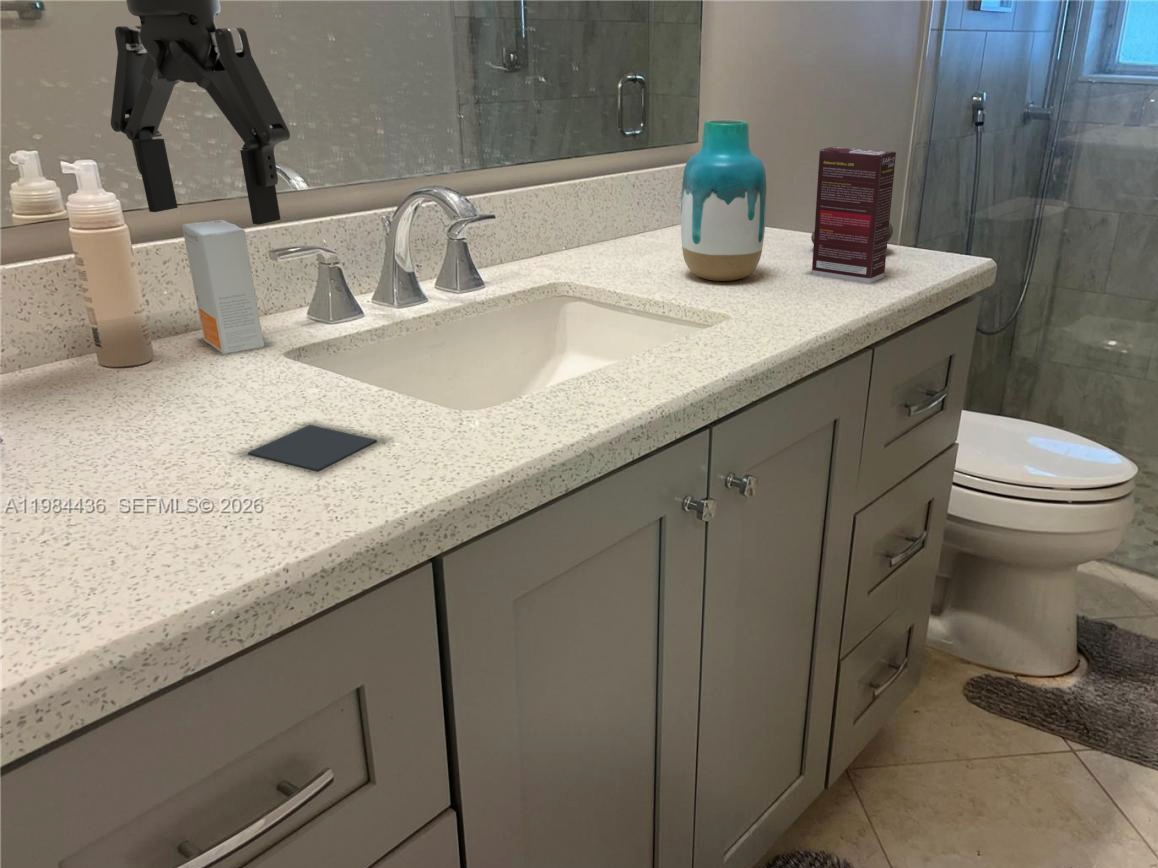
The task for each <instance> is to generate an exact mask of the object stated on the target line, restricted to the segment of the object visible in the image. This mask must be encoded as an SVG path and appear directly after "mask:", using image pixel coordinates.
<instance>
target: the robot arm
mask: <svg viewBox="0 0 1158 868" xmlns="http://www.w3.org/2000/svg"><path fill="white" fill-rule="evenodd" d="M125 2H126V6H127V10H128V12H129V13H130V14H131V15H133V16H135V17H138V18H139V20H140V21H139V22H140V25H127V26H126V25H122V26H121V25H120V26H116V27H115V29H114V35H115V43H116V49H117V57H116V66H115V75H114V87H113V95H112V96H113V97H112V106H111V116H110V127H111V128H112V130H113V131H114V132H116V133H120V132H121V133H122V134H123V135H124V134H125V135H126V136H125V137H127V139H128V140H130V142H131V144H132V148H133V154H134V158H135V162H136V167H137V170H138V173H139V174H140V175H141V179H142V184H143V189H144V194H145V197H146V202H147V206H148V212H150V213H159V212H164V211H169V210H174V209H178V208H179V207H178V201H177V197H176V193H175V187H174V182H173V178H172V172H171V168H170V162H169V157H168V152H167V147H166V143H165V139H164V138H159V137H162V136H163V134H162V133H161V132H160V131H159V127H160V125H161V122H162V120H163V117H164V114H165V111H166V109H167V106H168V104H169V101H170V98H171V96H172V93H173V91H174V88H175V86H176V85H177V84H178V83H180V82H184V83H190V84H194V83H195V84H196V85H197V86H198V87H199V88H202V89H204V90H205V91H206V93H208V95H209V97H210V98H211V99H212V101H213V102H214V103H215V105H216V106H217V107H218V109H219V110H220V111H221V113H222V115H224V117H225V118H226V120H227V121H228V122H229V124H230V125H231V126H232V128H233V130H235V132H236V133H237V134H238V136H239V137H240V139H241V140H242V141H243V143H244V144H243V145H242V147H241V149H240V150H239V152H240V157H241V163H242V170H243V175H244V181H245V186H246V192H247V193H246V194H247V198H248V204H249V205H248V206H249V210H250V216H251V221H252V225H258V226H260V225H264V224H268V223H272V222H276V221H281V214H280V206H279V200H278V195H277V194H278V193H277V188H276V186H277V185H278V182H279V175H278V170H277V163H276V158H275V147H276V146H277V145H278V144H280V143H282V142H287V141H289V140H290V138H291V133H290V130H289V128H288V126H287V124H286V122H285V119H284V118H283V116H282V114H281V112H280V109H279V108H278V106H277V104H276V102H275V100H274V97H273V96H272V94H271V92H270V89H269V88H268V85H267V83H266V82H265V80H264V77H263V75H262V74H261V71H260V69H259V67H258V66H257V63H256V61H255V59H254V57H253V55H252V51H251V47H250V43H249V38H248V34H247V32H246V31H245V29H244V28H242V27H221V28H220V27H219V28H218V27H217V25H216V22H215V17H216V16H218V15H220V14H221V11H222V8H221V3H220V2H221V1H220V0H125ZM126 115H128V116H126Z"/></svg>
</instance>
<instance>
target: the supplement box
mask: <svg viewBox="0 0 1158 868" xmlns="http://www.w3.org/2000/svg"><path fill="white" fill-rule="evenodd" d="M896 156H897V151H891V150H890V151H889V150H878V149H876V150H875V149H867V148H866V149H865V148H852V147H844V146H843V147H842V146H830V147H825V148H822V149H819V156H818V170H817V184H816V185H817V187H816V200H815V217H814V231H813V232H814V244H813V249H812V263H811V267H812V268H811V275H814V276H820V277H824V278H825V277H826V278H831V279H832V278H833V279H838V280H844V281H851V282H856V283H863V284H873V283H875V282H877V281H879V280H881V279H883V278H885V271H886V261H887V252H888V242H889V241H888V231H889V223H890V220H891V219H890V218H891V209H892V198H893V187H894V180H895V179H894V178H895V167H896ZM887 241H888V242H887Z"/></svg>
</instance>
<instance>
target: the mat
mask: <svg viewBox="0 0 1158 868" xmlns="http://www.w3.org/2000/svg"><path fill="white" fill-rule="evenodd" d="M376 443H378V440H377V439H375V438H371V437H367V436H366V437H365V436H361V435H358V434H357V435H356V434H352V433H349V432H343V431H339V430H334V429H330V428H325V427H321V426H316V425H312V424H308V425H306V426H304V427H301V428H299V429H297V430H295V431H293V432H291V433H288V434H287V435H283V436H282V437H280V438H277V439H275V440H273V441H271V442H268V443H266V444H264V445H262V446H260V447H257V448H254V449H253V450H250V451H248V452H247V455H248V456H252V457H256V458H260V459H263V460H268V461H272V462H276V463H281V464H284V465H288V466H293V467H297V468H300V469H304V470H309V471H311V472H312V471H313V472H317V473H318V472H320V471H323V470H324V469H327V468H328V467H331V466H332V465H334V464H337V463H338V462H340V461H342V460H344V459H346V458H348V457H351V456H353V455H355V454H357V453H358V452H360V451H363V450H364V449H366V448H368V447H370V446H372V445H374V444H376Z"/></svg>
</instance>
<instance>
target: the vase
mask: <svg viewBox="0 0 1158 868" xmlns="http://www.w3.org/2000/svg"><path fill="white" fill-rule="evenodd" d="M749 132H750V129H749V123H748V121H746V120H743V119H742V120H741V119H729V118H728V119H727V118H726V119H725V118H723V119H720V118H717V119H707V120H705V121H704V123H703V132H702V133H703V134H702V142H701V148H700V149H699V151H698V152H696V153H695V154H694V155H692V156H690V157H689V158H688V160H687V161H686V163H685V166H684V170H683V175H682V184H681V197H680V198H681V199H680V200H681V201H680V235H681V248H682V249H681V250H682V255H683V260H684V262H685V263H684V264H685V265H686V267H687V268H688V269H689V271H690V272H691V273H692V274H693V275H695V276H697V277H699V278H701V279H704V280H709V281H713V282H731V281H737V280H741V279H744V278H747V277H748V276H750V275H751V274H752V273H753V272H754V271H755V270H756V268H757V267H758V266H759V263H760V261H761V257H762V252H763V248H764V239H765V231H766V218H767V217H766V215H767V176H766V168H765V165H764V163H763V161H762V159H761V158H759V157H758V156H757V155H755V154H754V153H753V152H752V151H751V148H750V138H749V137H750V136H749V135H750V134H749Z"/></svg>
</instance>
